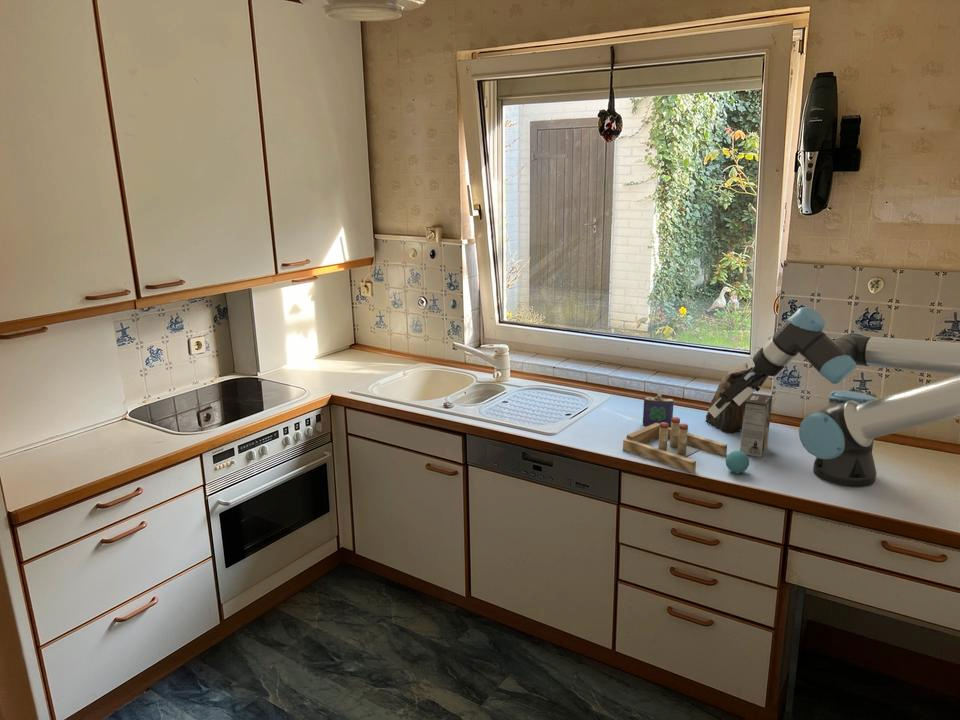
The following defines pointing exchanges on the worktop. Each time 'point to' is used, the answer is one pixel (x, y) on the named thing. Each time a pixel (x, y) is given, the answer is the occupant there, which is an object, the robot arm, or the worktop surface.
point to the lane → (651, 432)
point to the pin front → (682, 439)
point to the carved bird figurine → (733, 413)
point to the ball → (737, 461)
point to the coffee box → (756, 424)
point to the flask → (657, 410)
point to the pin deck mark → (675, 450)
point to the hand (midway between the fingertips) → (724, 407)
